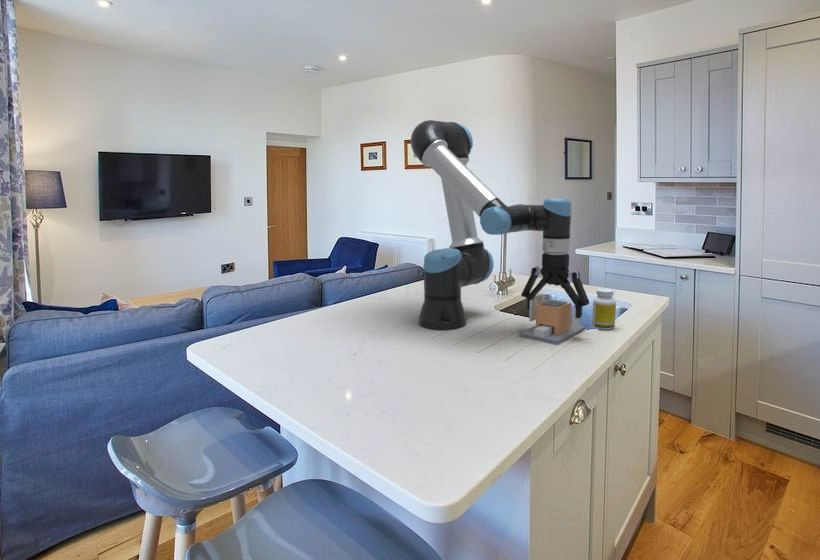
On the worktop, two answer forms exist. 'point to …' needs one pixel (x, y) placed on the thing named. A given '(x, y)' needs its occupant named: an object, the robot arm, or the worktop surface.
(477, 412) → the worktop surface
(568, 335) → the rail board
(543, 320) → the block
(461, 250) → the robot arm
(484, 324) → the worktop surface
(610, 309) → the pill bottle
